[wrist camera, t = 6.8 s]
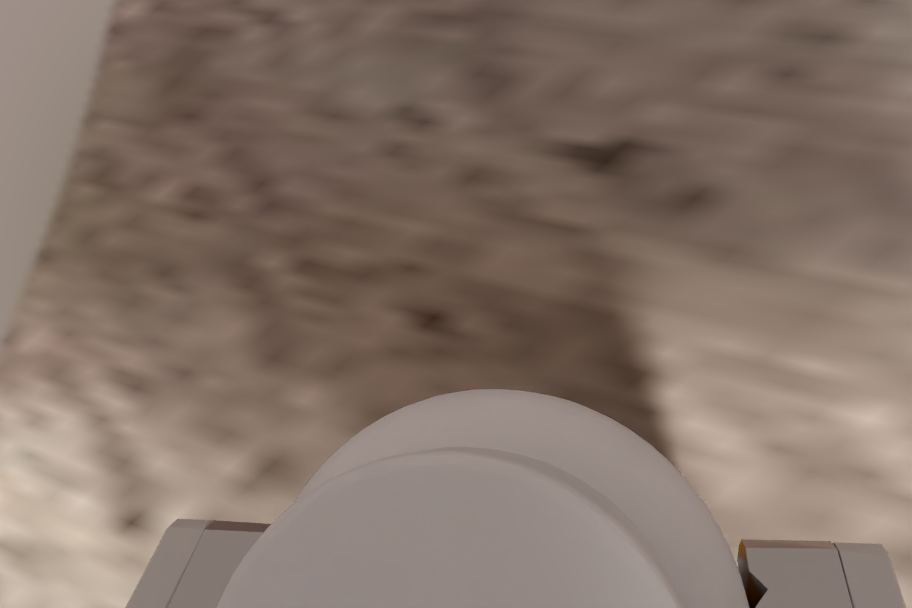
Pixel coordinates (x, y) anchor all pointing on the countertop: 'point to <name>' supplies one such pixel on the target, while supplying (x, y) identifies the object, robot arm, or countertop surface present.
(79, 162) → the countertop surface
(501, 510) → the supplement bottle
